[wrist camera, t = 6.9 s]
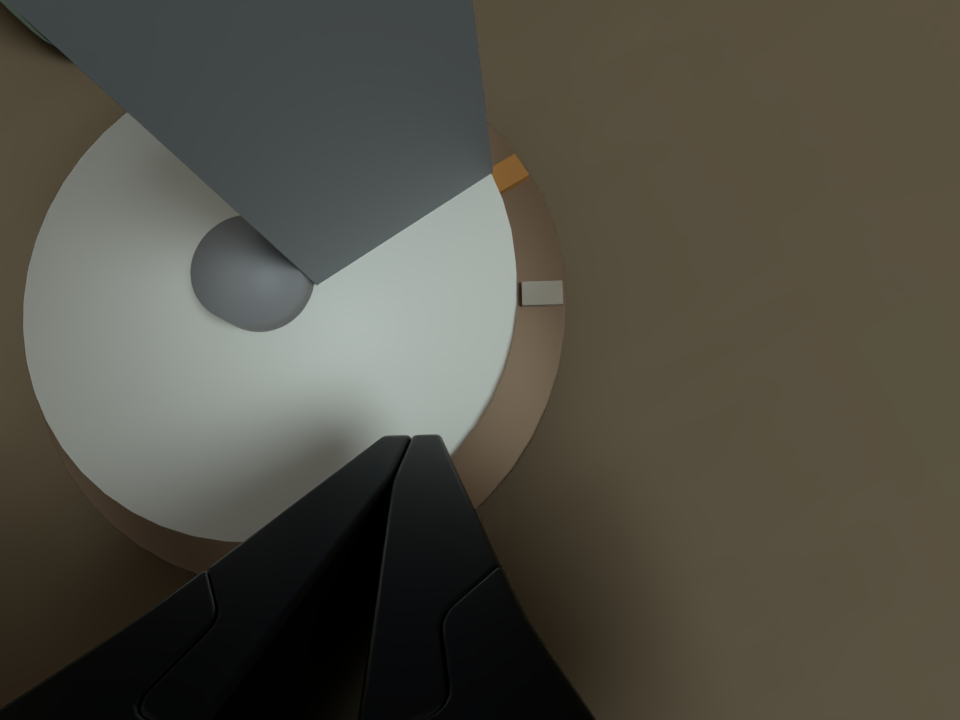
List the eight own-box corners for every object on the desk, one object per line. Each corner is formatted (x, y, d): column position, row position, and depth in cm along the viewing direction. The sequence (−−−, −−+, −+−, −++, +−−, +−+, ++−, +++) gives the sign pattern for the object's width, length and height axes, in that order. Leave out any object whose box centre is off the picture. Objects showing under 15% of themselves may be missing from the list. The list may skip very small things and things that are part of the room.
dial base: (295, 698, 16) (268, 723, 15) (-21, 326, 19) (-75, 311, 17) (671, 307, 17) (686, 288, 16) (324, 5, 20) (305, -39, 18)
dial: (462, 586, 15) (233, 938, 3) (7, 478, 16) (-1250, 476, 5) (557, 125, 17) (614, -629, 5) (144, 63, 18) (-516, -650, 7)
